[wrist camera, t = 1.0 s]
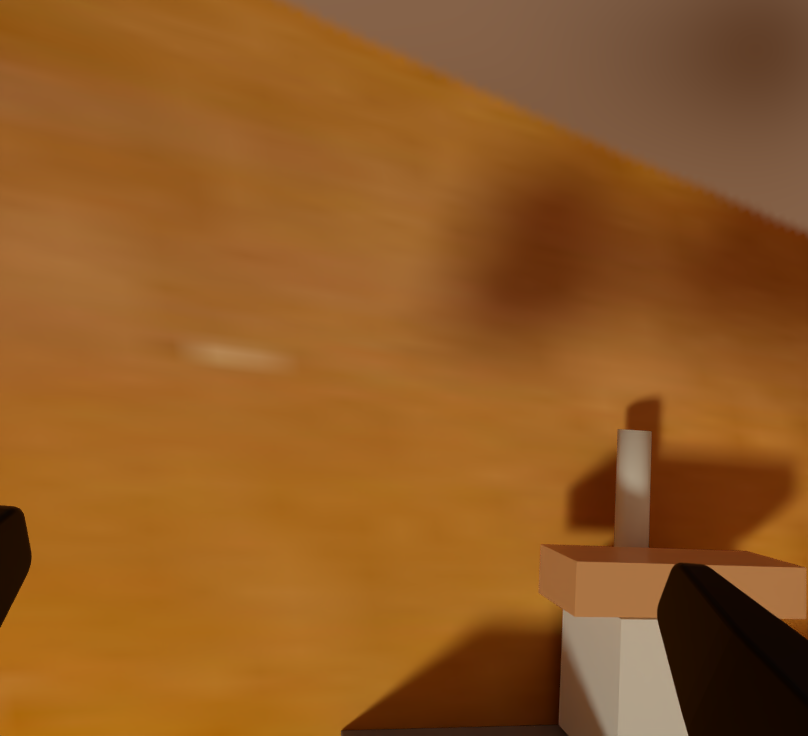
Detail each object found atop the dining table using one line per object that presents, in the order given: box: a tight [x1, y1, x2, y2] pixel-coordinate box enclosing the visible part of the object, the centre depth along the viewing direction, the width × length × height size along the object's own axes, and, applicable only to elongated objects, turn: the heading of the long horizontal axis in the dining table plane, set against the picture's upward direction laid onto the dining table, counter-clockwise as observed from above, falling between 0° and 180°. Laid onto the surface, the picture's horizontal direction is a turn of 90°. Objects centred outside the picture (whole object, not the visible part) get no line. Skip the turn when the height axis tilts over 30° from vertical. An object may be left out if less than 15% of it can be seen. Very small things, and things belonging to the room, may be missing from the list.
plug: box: [559, 429, 688, 736], centre depth 22 cm, size 11×4×4 cm, turn 176°
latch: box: [539, 544, 806, 619], centre depth 20 cm, size 2×8×3 cm, turn 86°
